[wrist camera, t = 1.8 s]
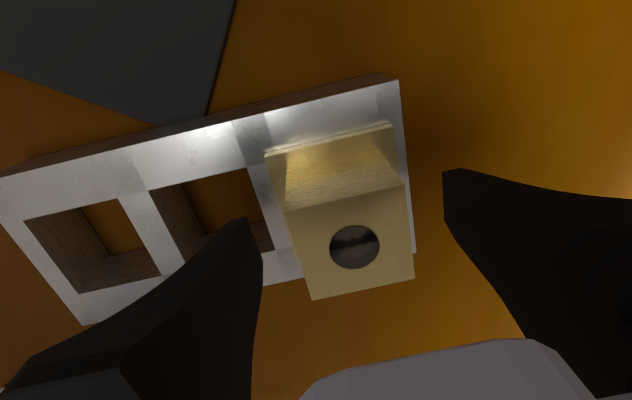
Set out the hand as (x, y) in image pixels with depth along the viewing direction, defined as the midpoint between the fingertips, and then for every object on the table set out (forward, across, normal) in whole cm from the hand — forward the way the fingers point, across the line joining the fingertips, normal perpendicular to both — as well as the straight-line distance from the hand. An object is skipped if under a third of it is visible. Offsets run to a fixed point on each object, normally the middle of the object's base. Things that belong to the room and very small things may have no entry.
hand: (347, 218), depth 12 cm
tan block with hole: (+5, 0, 0) cm, 5 cm away
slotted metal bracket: (+5, +6, 0) cm, 8 cm away
